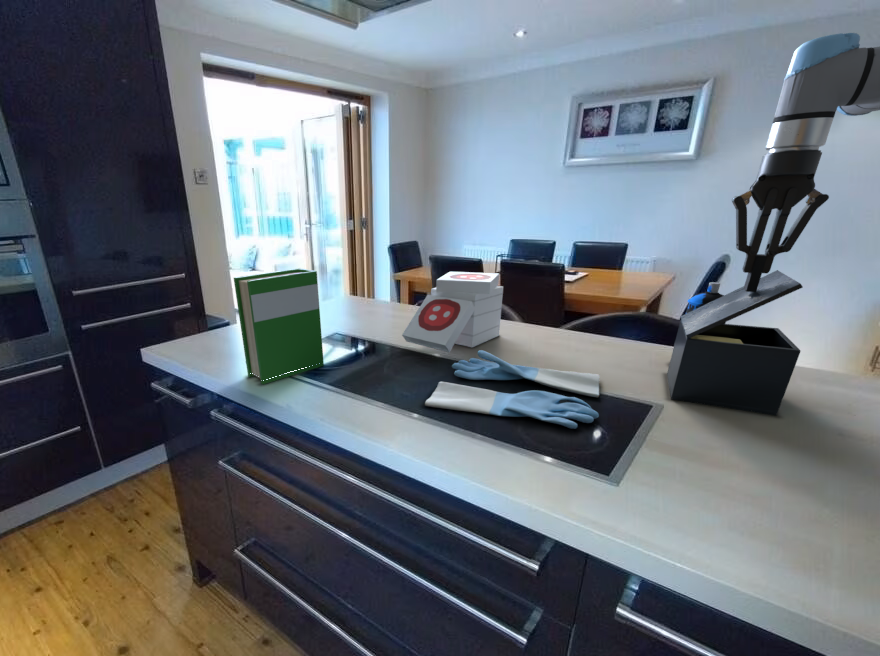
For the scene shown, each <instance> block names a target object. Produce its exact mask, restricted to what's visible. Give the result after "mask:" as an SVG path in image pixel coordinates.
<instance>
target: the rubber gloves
mask: <svg viewBox="0 0 880 656" xmlns="http://www.w3.org/2000/svg"><path fill="white" fill-rule="evenodd" d="M477 355H478V357H479V358H475V357H471V358H469V360H468V361H467V360H466V359H460V360H458V362H454V363H452V364H451V368H452V369H453V370H455V371H454V373H453V375H454V376H455V377H457V378H461V379H465V380H473V381H484V380H485V381H486V380H487V381H488V380H489V381H491V380H492V381H512V380H523V379H525V380H529V381H532V382H535V383H537V384H540V385H543V386H545V387H549V388H552V389H555V390H560V391H564V392H568V393H573V394H577V395H582V396H586V397H591V398H599V397H600V394H601V393H600V382H601V381H600V379H601V375H600V374H597V373H591V372H590V373H589V372H581V371H580V372H578V371H570V370H557V369H552V368H545V367H544V368H543V367H534V366H527V365H526V366H525V365H517V364H511V363H510V362H508V361H505V360H504V359H502V358H501V357H497V356H496V355H494V354H492V353H490V352H487V351H486V350H482V349H481V350H478V351H477ZM480 358H481V359H480ZM482 359H483V360H482ZM560 401H566V402H560ZM424 406H425V407H430V408H437V409H444V410H445V409H446V410H452V411H453V410H454V411H460V412H461V411H462V412H467V413H477V414H484V415H492V416H497V417H508V418H509V417H512V418H521V417H523V418H524V417H525V418H526V417H530V418H532V419H536V420H539V421H542V422H546V423H551V424H555V425H559V426H562V427H565V428H568V429H572V430H576V429H577V428H578V427H579V426H578V423H577V422H575V421H578V422H580V423H583V424H592V423H593V422H594V421H595V420H597V419H598V418H599V417H600V414H599V412H598V411H596V410H594V409H593V408H592V407H591V405H590V404H588V403H587V402H585V400H583V399H580V398H578V397H575V396H565V395H562V394H559V393H553V392H550V391H545V390H538V389H537V390H535V389H534V390H525V391H519V392H517V393H508V392H507V393H506V392H500V391H496V390H492V389H486V388H481V387H475V386H469V385H463V384H458V383H453V382H447V381H439V382H438V384H437V387H435V389H434V391H433V392H432V394H431V395H430V397H429V398H427V399H426V400H425V401H424Z"/></svg>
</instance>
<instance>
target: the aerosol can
mask: <svg viewBox="0 0 880 656" xmlns="http://www.w3.org/2000/svg"><path fill="white" fill-rule="evenodd" d="M720 286H721V282H716V281H715V282H714V281H712V282H709V283H708V287H707V291H705V292H699V293H697V294H695V295H693V296H692V297H691V298H689V299H687V307H686V311H685V314H687V313H689V312H691V311H693V310H695V309H697V308H699V307H701V306H703V305H705V304H708V303H710V302H712V301H714V300H716V299H718V298H720V297H722V296H724V295H725V294H722V293H720V292H719V290H720ZM722 324H727V322H724V323H722Z"/></svg>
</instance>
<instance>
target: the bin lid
mask: <svg viewBox="0 0 880 656" xmlns="http://www.w3.org/2000/svg"><path fill="white" fill-rule="evenodd" d="M743 288H744V285H743V286H741V287H739V288H737V289H734V290H733V291H730V292H729V293H726V294H723V295H724V296H722V297H720V298H718V299H716V300H714V301H712V302H710V303H708V304H705V305H703V306H701V307H699V308H697V309H695V310H693V311H691V312H689V313H687V314H686V313H685V314H682V315H680V316H679V317H680V321H681V320H682V324H683V327H684V330H685V333H686V336H687V337H688V338H691V337H693V336H695V335H698V334H700V333H702V332H704V331H706V330H709V329H711V328H713V327H715V326H718V325H720V324H722V323H724V322H726V323H727V322H729V321H731V320H734V319H735V318H737V317H740V316H742V315H744V314H747V313H749V312H752V311H753V310H755V309H758V308H760V307H762V306H765V305H767V304H769V303H772V302H774V301H775V300H778V299H780V298H782V297H785V296H787V295H789V294H792V293H794V292H796V291H798V290H801V289H803V285H802V284H801V283H800V282H799V281H797V280H795V279H793V278H792V277H790V276H788V275H786V274H785V273H784V272H781V271H779V270H778V269H777V270H774V271H772V272H770V273H767V274H766V275H764V276H761V278H760V281H759V284H758V287H757V291H756V292H746V291H745V290H744V289H743Z"/></svg>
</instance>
